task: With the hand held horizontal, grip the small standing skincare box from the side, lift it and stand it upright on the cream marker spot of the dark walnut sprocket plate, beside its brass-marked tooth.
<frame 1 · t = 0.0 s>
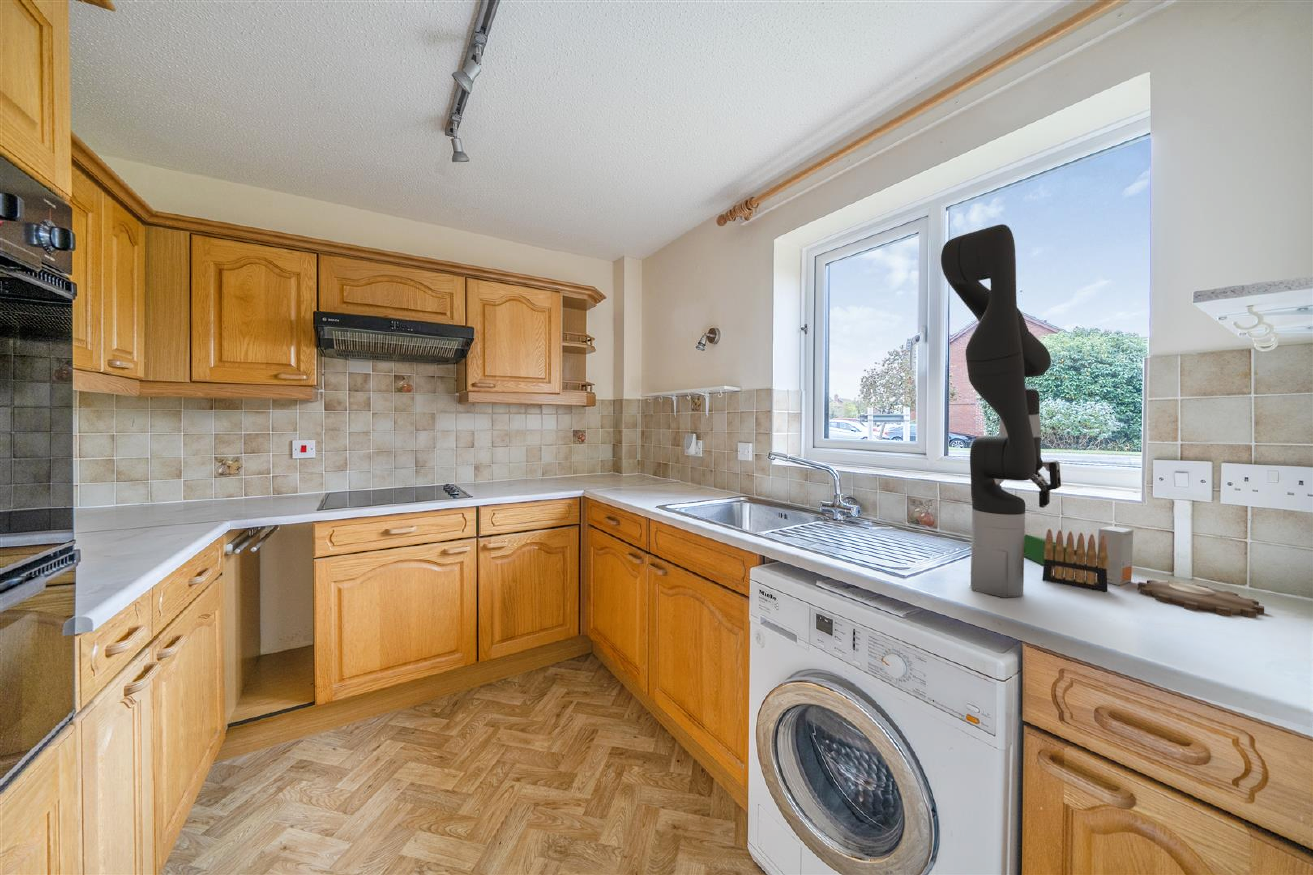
hand: (1019, 504, 108), 17 cm above the worktop, tool pointing down, fingers open, 8 cm apart
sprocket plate: (1196, 599, 95), on the worktop
ammunition clip: (1073, 586, 103), on the worktop
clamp: (1047, 563, 120), on the worktop
skincare box: (1114, 581, 106), on the worktop
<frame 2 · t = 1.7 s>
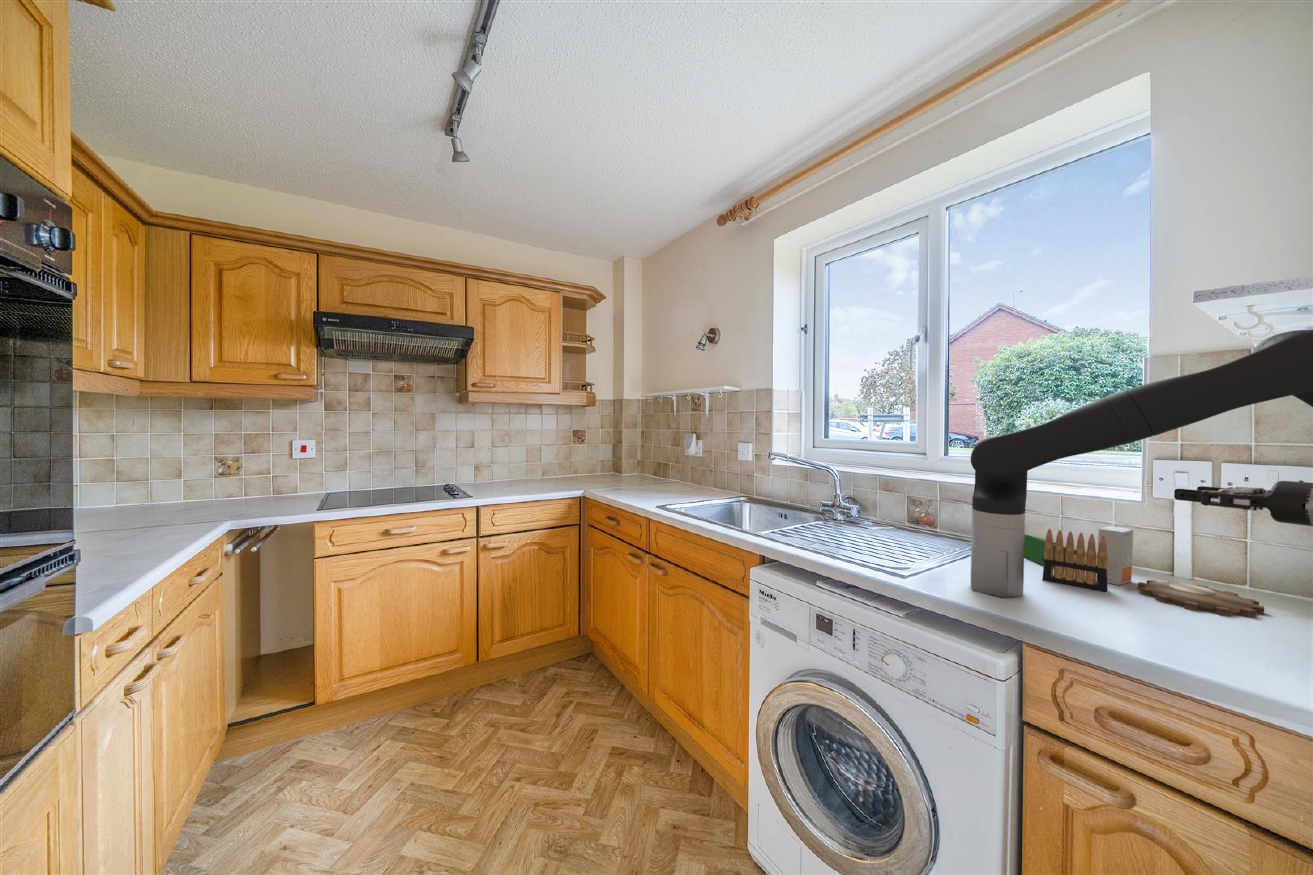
hand: (1186, 492, 95), 22 cm above the worktop, tool horizontal, fingers open, 8 cm apart
nothing on the worktop moved.
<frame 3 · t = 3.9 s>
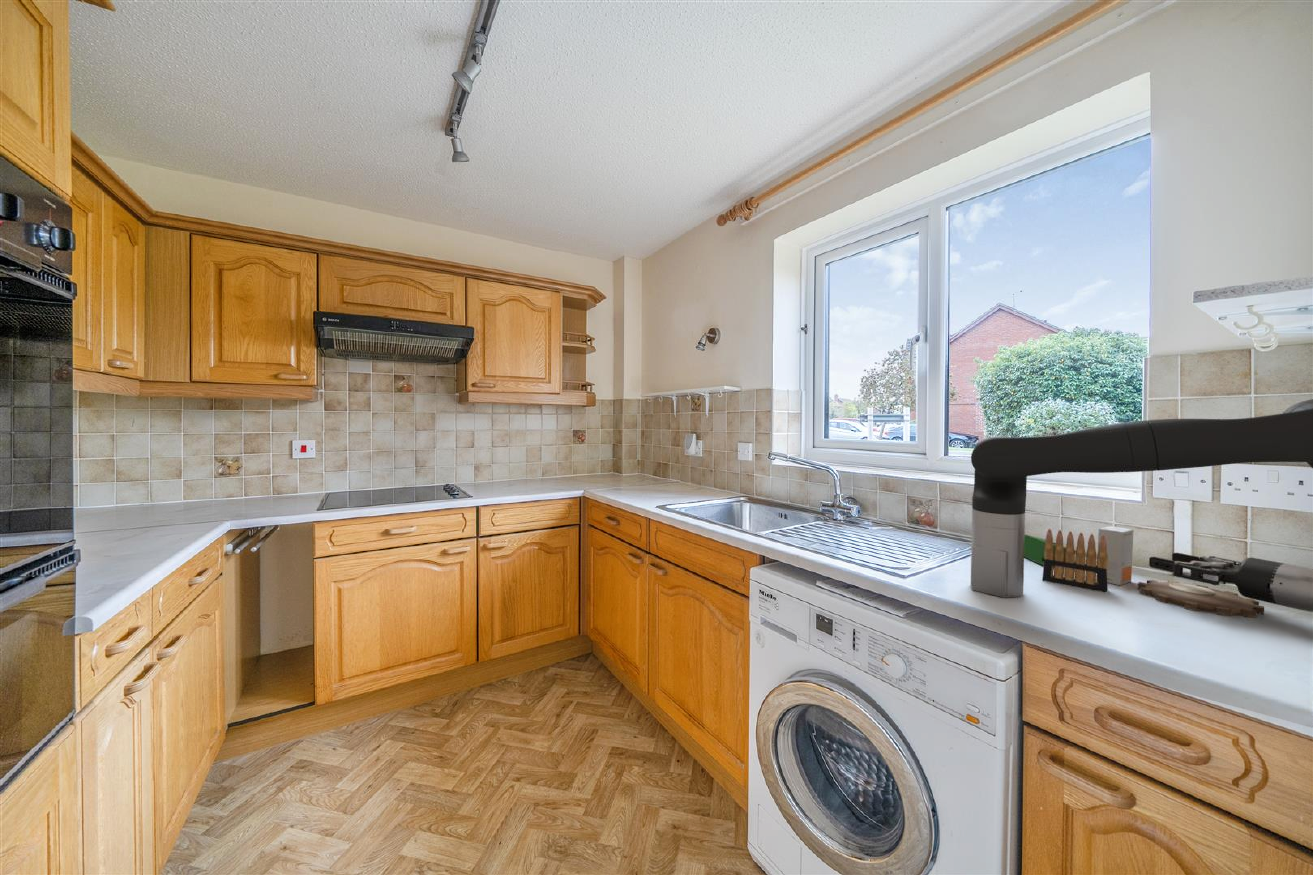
hand: (1161, 559, 98), 7 cm above the worktop, tool horizontal, fingers open, 8 cm apart
nothing on the worktop moved.
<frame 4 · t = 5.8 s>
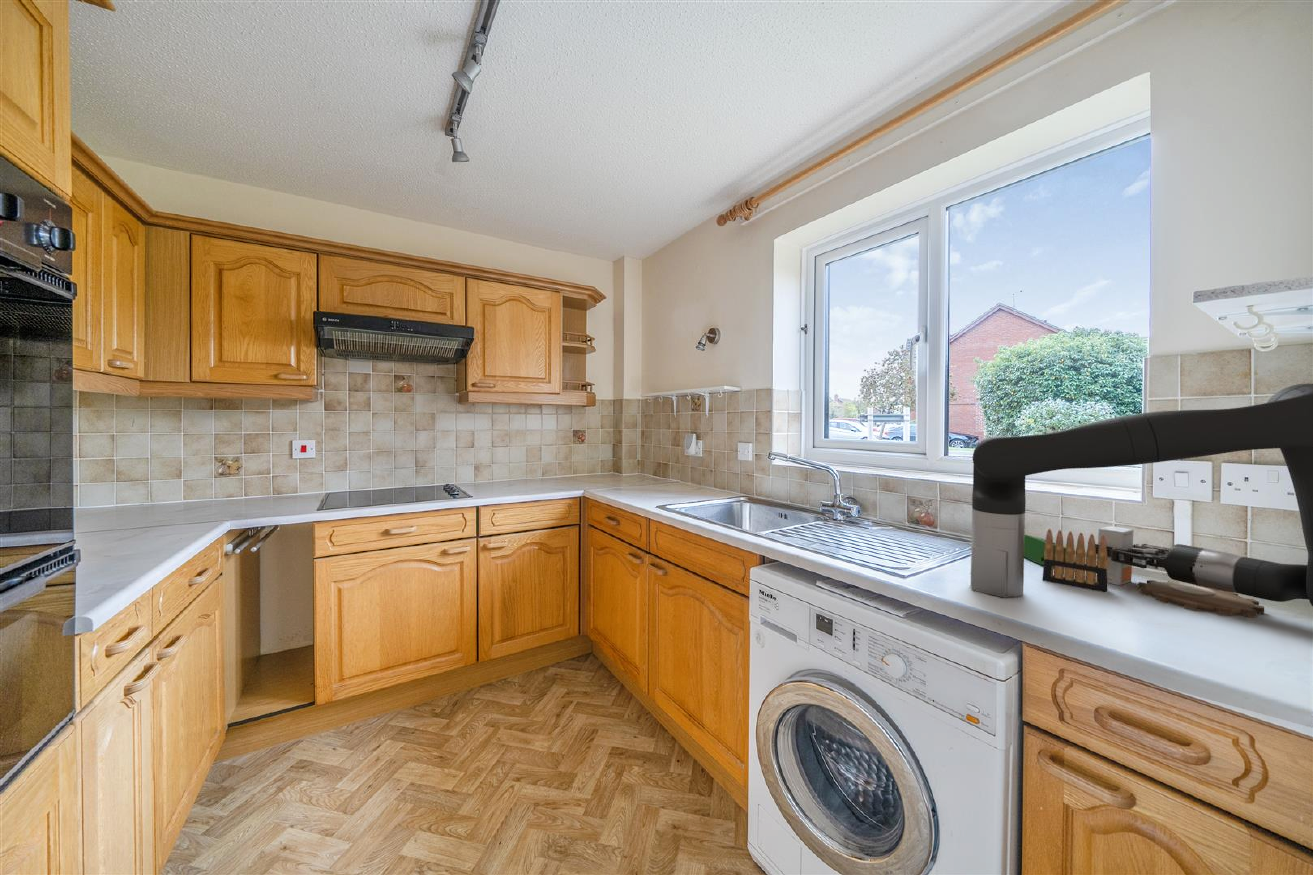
hand: (1102, 546, 108), 7 cm above the worktop, tool horizontal, fingers closed on skincare box, 6 cm apart
skincare box: (1114, 581, 106), on the worktop, touching gripper
everything else where it was.
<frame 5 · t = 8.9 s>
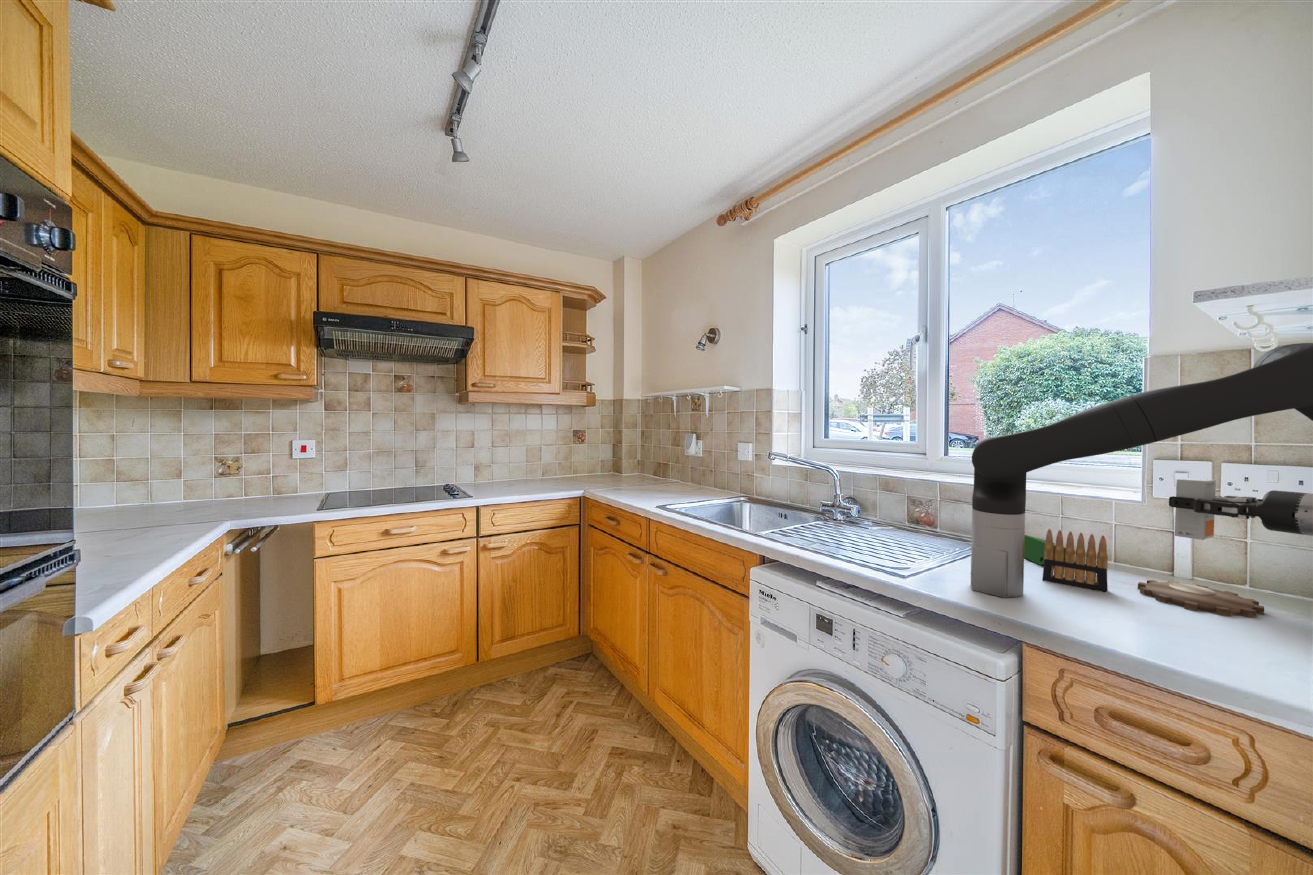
hand: (1179, 500, 99), 20 cm above the worktop, tool horizontal, fingers closed on skincare box, 6 cm apart
skincare box: (1194, 537, 97), point 12 cm above the worktop, touching gripper
everything else where it was.
when the fingers open (9 cm above the worktop, at t = 11.7 s): skincare box stays where it is, resting on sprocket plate.
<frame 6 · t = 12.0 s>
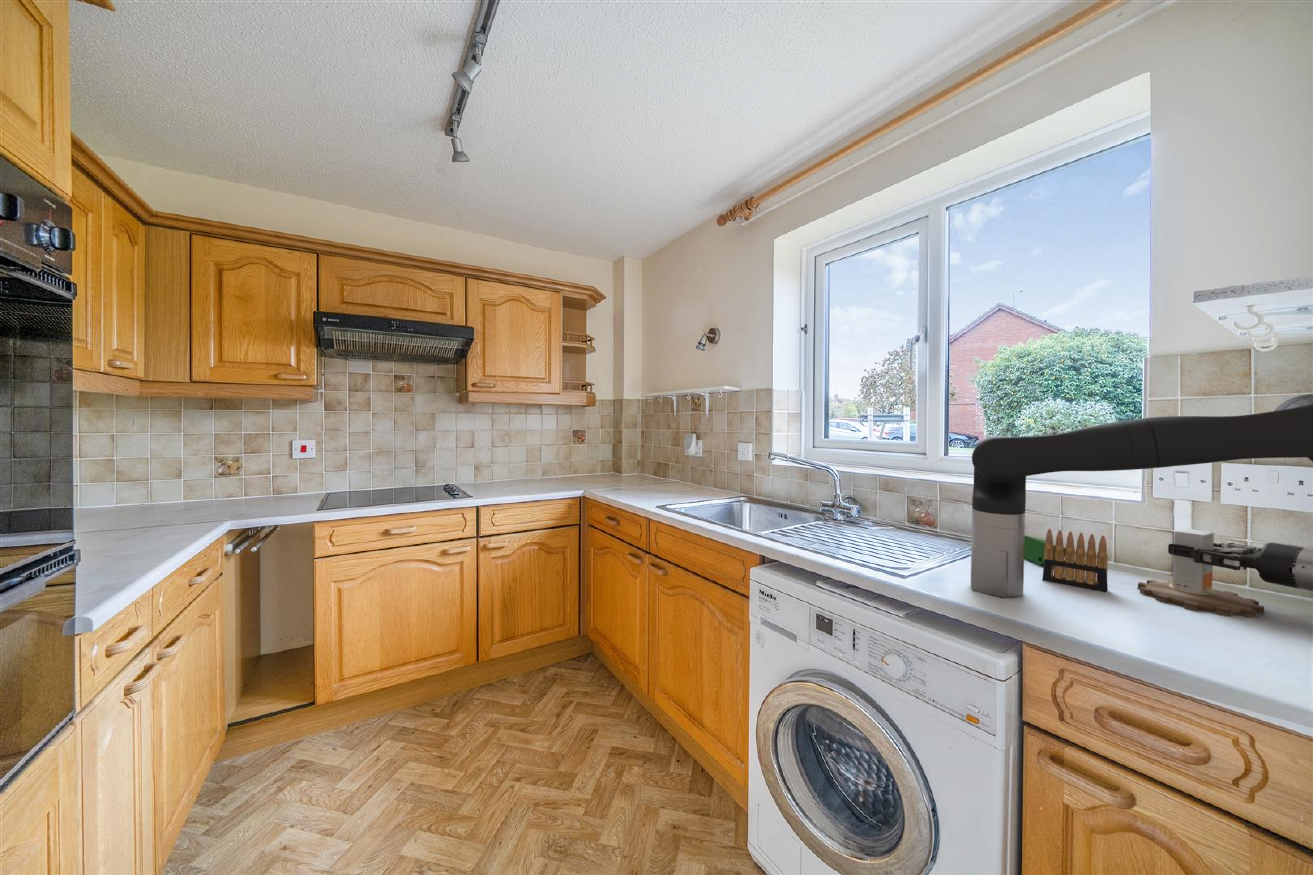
hand: (1180, 546, 99), 10 cm above the worktop, tool horizontal, fingers open, 8 cm apart
skincare box: (1192, 589, 97), point 1 cm above the worktop, touching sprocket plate
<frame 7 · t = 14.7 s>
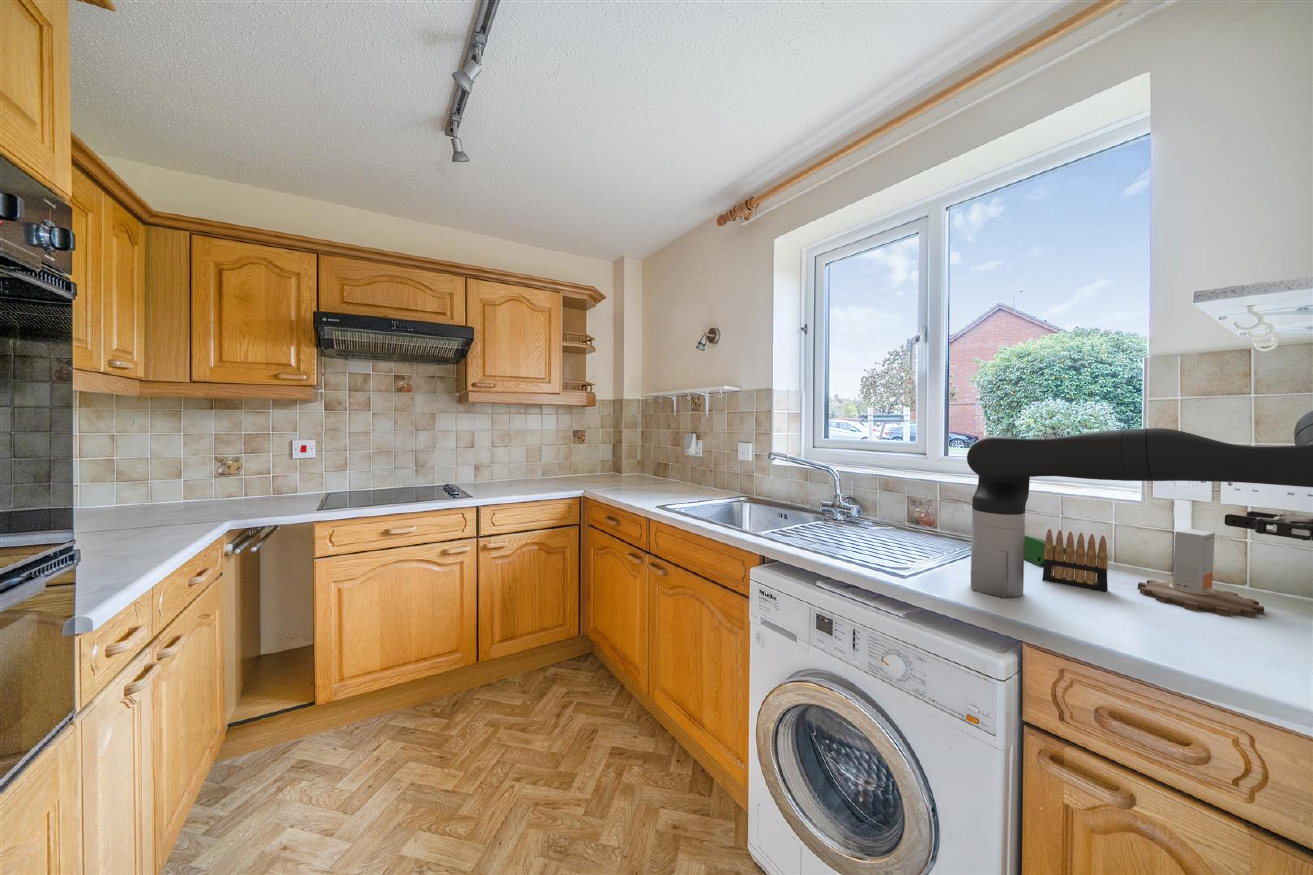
hand: (1236, 517, 91), 17 cm above the worktop, tool horizontal, fingers open, 8 cm apart
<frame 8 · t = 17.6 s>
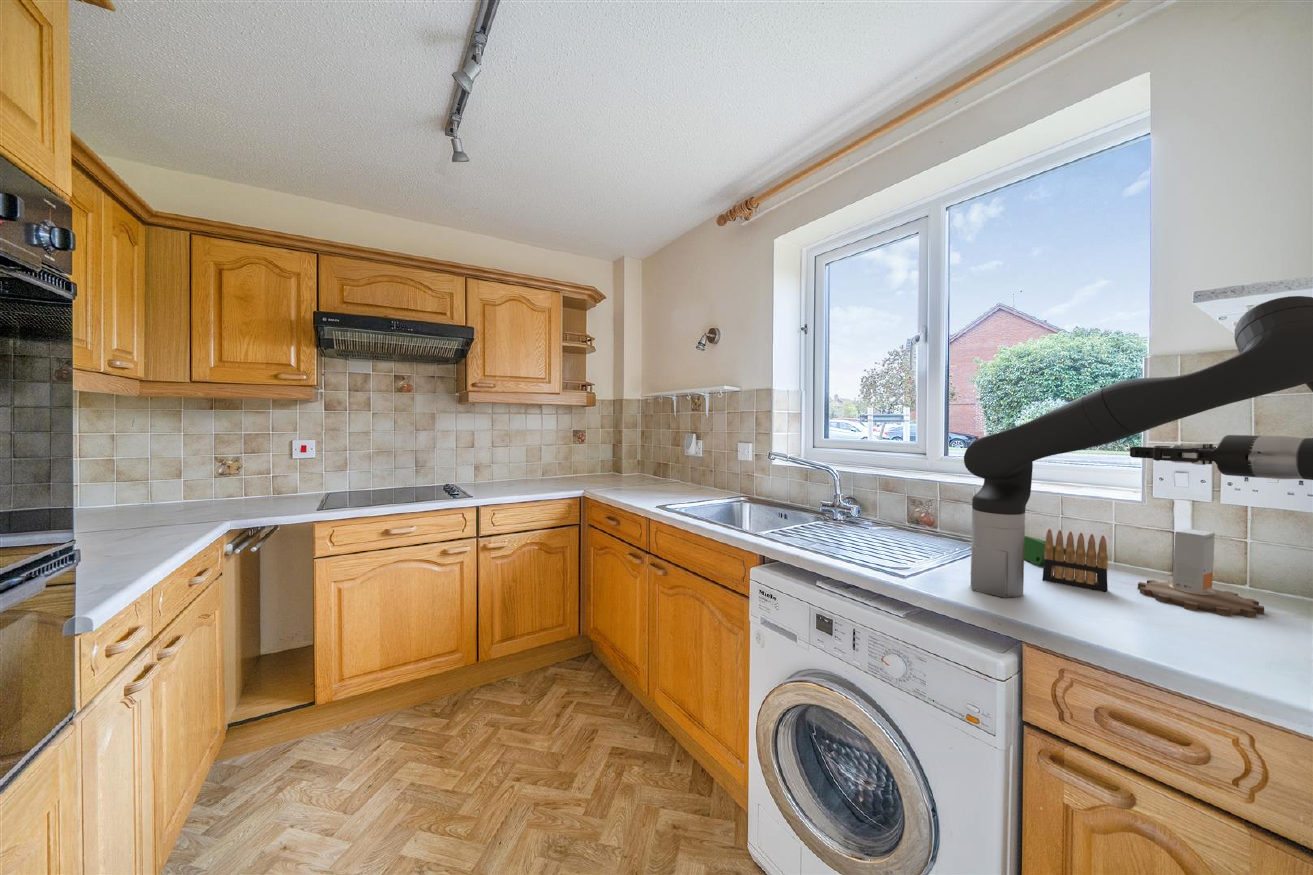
hand: (1142, 451, 98), 30 cm above the worktop, tool horizontal, fingers open, 8 cm apart
at the end: skincare box 0.1 cm from the target spot, point 1.2 cm above the worktop; skincare box tilted 0°; the gripper is holding nothing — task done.
